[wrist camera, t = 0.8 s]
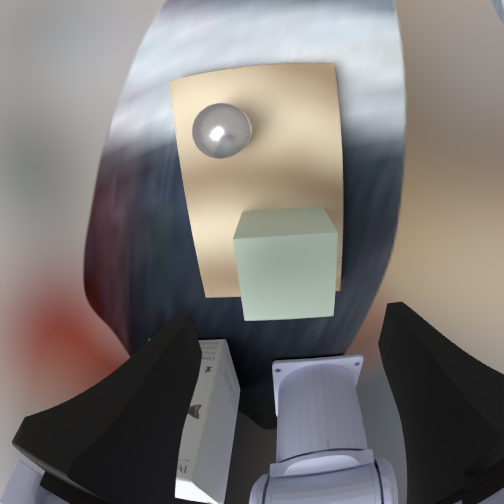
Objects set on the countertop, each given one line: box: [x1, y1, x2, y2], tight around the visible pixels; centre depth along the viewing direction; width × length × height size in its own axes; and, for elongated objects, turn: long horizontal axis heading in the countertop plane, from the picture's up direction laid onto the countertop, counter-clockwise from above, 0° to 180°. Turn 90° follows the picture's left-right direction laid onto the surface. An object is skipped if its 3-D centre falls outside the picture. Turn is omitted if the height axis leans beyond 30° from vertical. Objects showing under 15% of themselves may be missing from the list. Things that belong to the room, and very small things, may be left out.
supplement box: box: [148, 339, 240, 504], centre depth 18 cm, size 7×7×13 cm
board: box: [170, 63, 343, 298], centre depth 16 cm, size 14×9×1 cm, turn 6°
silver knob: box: [192, 103, 253, 159], centre depth 13 cm, size 3×3×4 cm
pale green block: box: [233, 206, 338, 321], centre depth 15 cm, size 5×5×4 cm
